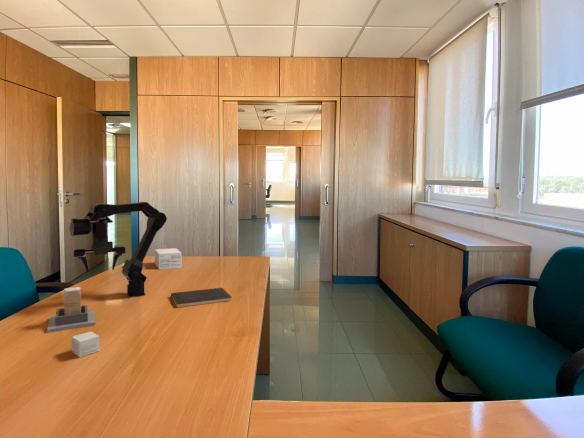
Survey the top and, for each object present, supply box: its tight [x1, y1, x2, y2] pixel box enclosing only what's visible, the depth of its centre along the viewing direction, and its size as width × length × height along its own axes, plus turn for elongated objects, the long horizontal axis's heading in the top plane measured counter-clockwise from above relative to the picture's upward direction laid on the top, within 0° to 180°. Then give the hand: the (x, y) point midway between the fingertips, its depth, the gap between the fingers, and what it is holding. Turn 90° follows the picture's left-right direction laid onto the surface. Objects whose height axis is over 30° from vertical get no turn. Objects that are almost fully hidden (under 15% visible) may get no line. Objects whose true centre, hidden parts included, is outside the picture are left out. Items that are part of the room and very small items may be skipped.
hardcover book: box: [170, 287, 232, 308], centre depth 158 cm, size 16×23×2 cm
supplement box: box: [154, 247, 183, 270], centre depth 219 cm, size 17×13×9 cm
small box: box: [71, 331, 100, 358], centre depth 107 cm, size 6×6×5 cm
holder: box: [46, 304, 96, 334], centre depth 129 cm, size 14×14×4 cm
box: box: [63, 286, 82, 316], centre depth 129 cm, size 5×4×11 cm
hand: (100, 271), depth 150 cm, fingers open, 9 cm apart
